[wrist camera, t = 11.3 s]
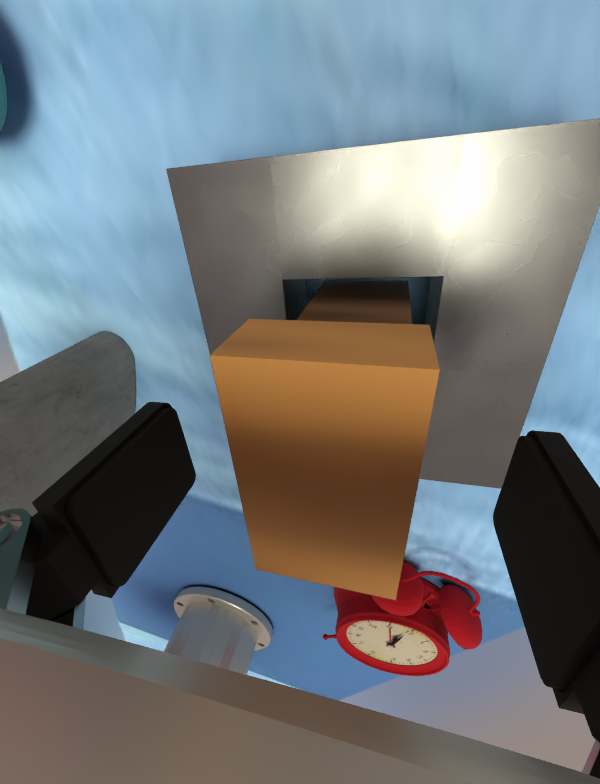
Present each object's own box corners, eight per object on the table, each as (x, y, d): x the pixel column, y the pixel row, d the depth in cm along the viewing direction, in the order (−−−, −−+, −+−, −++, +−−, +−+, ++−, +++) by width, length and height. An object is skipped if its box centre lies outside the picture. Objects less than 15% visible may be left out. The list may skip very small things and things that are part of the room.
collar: (483, 436, 19) (501, 488, 16) (257, 416, 23) (234, 456, 19) (566, 133, 12) (630, 114, 9) (215, 171, 15) (166, 168, 12)
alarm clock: (306, 640, 31) (384, 630, 20) (323, 571, 36) (396, 532, 24) (403, 686, 32) (534, 702, 20) (410, 613, 36) (521, 592, 25)
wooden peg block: (396, 380, 19) (395, 600, 9) (326, 375, 20) (255, 569, 10) (411, 247, 15) (439, 369, 5) (324, 248, 16) (209, 355, 6)
